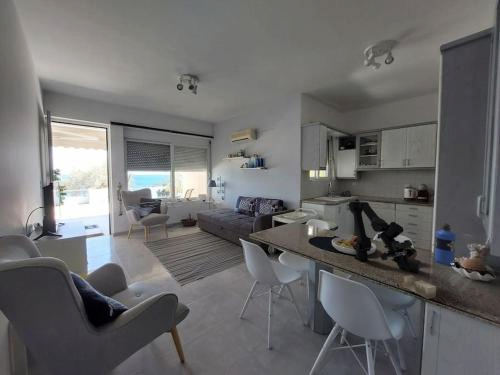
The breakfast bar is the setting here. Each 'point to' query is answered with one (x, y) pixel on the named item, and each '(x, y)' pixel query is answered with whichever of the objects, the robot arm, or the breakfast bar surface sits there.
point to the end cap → (413, 265)
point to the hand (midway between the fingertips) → (409, 270)
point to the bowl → (349, 245)
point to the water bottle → (445, 245)
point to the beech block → (419, 286)
